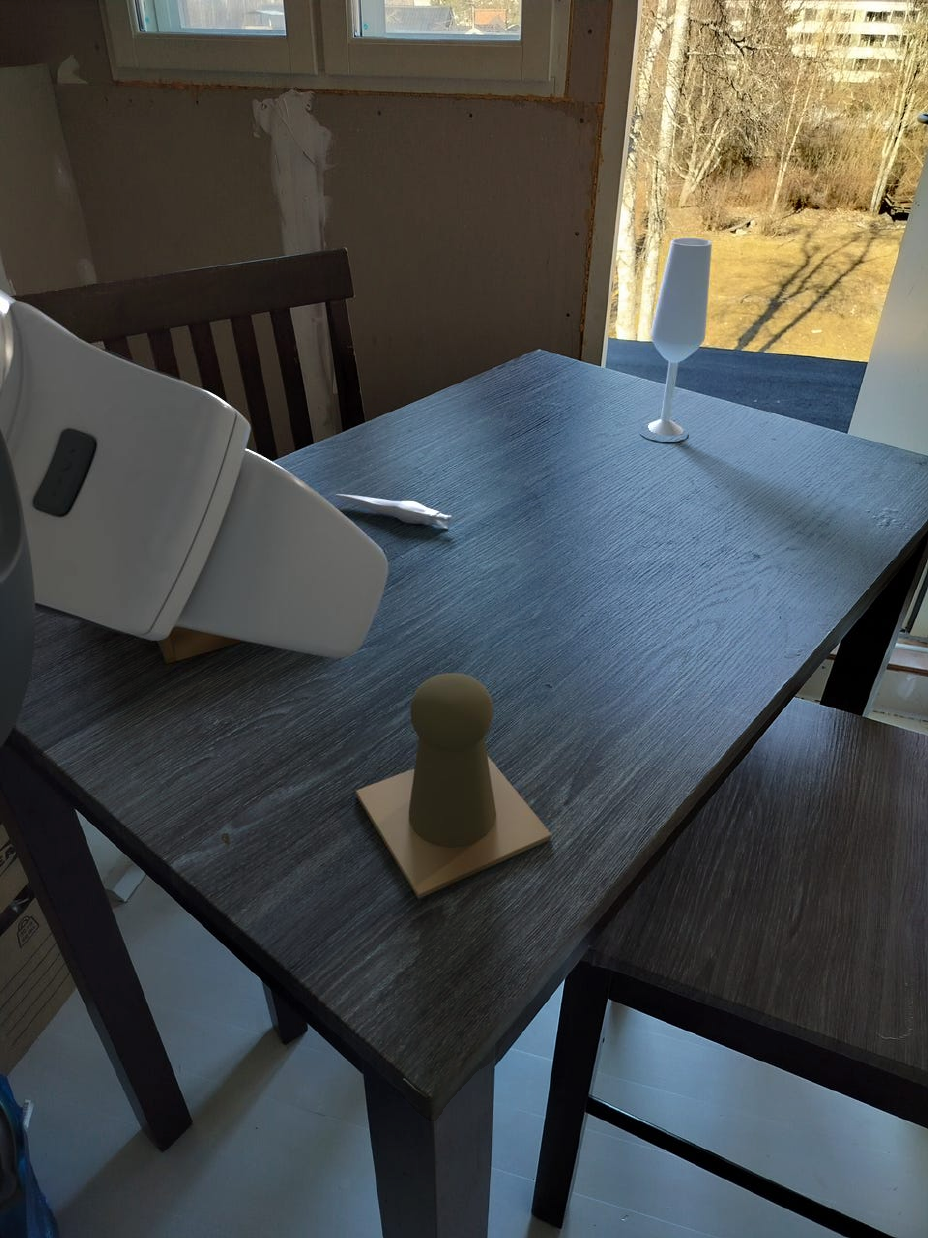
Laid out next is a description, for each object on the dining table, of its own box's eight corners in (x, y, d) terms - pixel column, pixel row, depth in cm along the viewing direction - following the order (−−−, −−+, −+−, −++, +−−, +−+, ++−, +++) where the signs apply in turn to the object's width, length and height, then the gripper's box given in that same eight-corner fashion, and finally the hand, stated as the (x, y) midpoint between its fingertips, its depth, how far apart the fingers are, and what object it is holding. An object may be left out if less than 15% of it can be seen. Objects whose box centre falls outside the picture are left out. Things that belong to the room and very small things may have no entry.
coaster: (418, 899, 53) (418, 894, 53) (355, 795, 60) (355, 790, 60) (551, 839, 57) (552, 834, 57) (478, 748, 64) (478, 743, 64)
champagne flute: (634, 439, 113) (659, 245, 99) (641, 420, 118) (666, 234, 104) (686, 445, 111) (718, 249, 97) (691, 426, 116) (722, 237, 103)
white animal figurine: (457, 524, 93) (457, 509, 92) (447, 535, 91) (447, 519, 90) (341, 497, 98) (340, 482, 97) (328, 506, 96) (327, 491, 95)
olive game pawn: (393, 831, 57) (385, 707, 51) (429, 771, 62) (426, 650, 55) (477, 858, 55) (480, 732, 49) (508, 794, 60) (514, 672, 54)
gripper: (-295, 471, 28) (40, 583, 40) (176, 652, 20) (408, 720, 32) (-213, 298, 28) (91, 461, 41) (274, 406, 20) (464, 567, 33)
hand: (234, 577), depth 37 cm, fingers open, 8 cm apart
